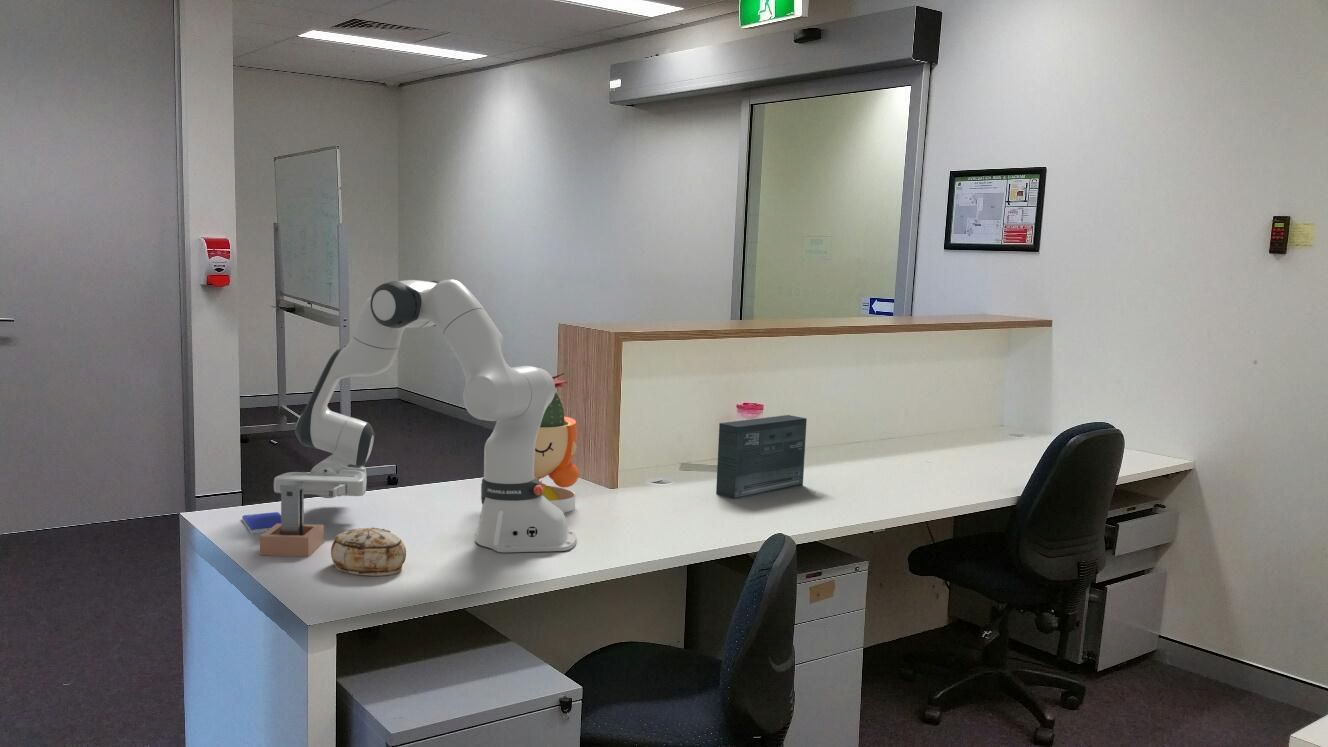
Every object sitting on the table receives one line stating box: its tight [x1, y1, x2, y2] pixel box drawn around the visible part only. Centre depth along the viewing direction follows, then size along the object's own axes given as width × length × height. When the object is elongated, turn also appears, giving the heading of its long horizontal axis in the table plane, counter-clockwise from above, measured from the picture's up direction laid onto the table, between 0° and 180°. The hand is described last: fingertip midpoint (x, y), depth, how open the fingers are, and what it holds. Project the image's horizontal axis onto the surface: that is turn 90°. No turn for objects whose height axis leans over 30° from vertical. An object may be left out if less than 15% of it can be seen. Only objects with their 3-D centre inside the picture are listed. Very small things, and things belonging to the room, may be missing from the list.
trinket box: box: [330, 527, 407, 577], centre depth 200 cm, size 13×15×8 cm
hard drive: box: [241, 511, 281, 534], centre depth 229 cm, size 2×8×12 cm
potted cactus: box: [534, 372, 580, 514], centre depth 256 cm, size 22×22×35 cm
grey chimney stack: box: [280, 481, 305, 536], centre depth 210 cm, size 4×4×13 cm
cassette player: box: [715, 414, 807, 500], centre depth 282 cm, size 29×7×20 cm, turn 133°
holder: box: [259, 523, 325, 557], centre depth 211 cm, size 10×10×4 cm
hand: (310, 492), depth 222 cm, fingers open, 8 cm apart
